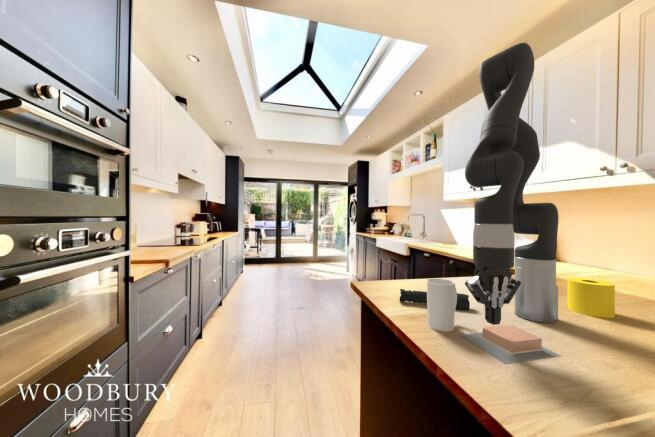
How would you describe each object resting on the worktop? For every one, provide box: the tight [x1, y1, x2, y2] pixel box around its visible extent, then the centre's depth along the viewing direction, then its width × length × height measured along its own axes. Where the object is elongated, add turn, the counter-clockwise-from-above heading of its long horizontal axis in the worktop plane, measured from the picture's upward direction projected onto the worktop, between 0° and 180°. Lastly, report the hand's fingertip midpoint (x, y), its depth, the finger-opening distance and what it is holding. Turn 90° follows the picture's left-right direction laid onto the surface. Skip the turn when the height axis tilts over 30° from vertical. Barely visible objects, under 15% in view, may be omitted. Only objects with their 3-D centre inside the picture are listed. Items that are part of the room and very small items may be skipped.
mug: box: [426, 277, 457, 333], centre depth 64 cm, size 10×7×12 cm, turn 119°
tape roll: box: [567, 277, 616, 319], centre depth 76 cm, size 10×10×9 cm
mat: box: [458, 332, 562, 365], centre depth 54 cm, size 14×12×1 cm
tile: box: [482, 324, 543, 354], centre depth 55 cm, size 2×7×8 cm
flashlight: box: [399, 288, 471, 311], centre depth 80 cm, size 5×21×5 cm, turn 70°
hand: (492, 323), depth 54 cm, fingers closed
